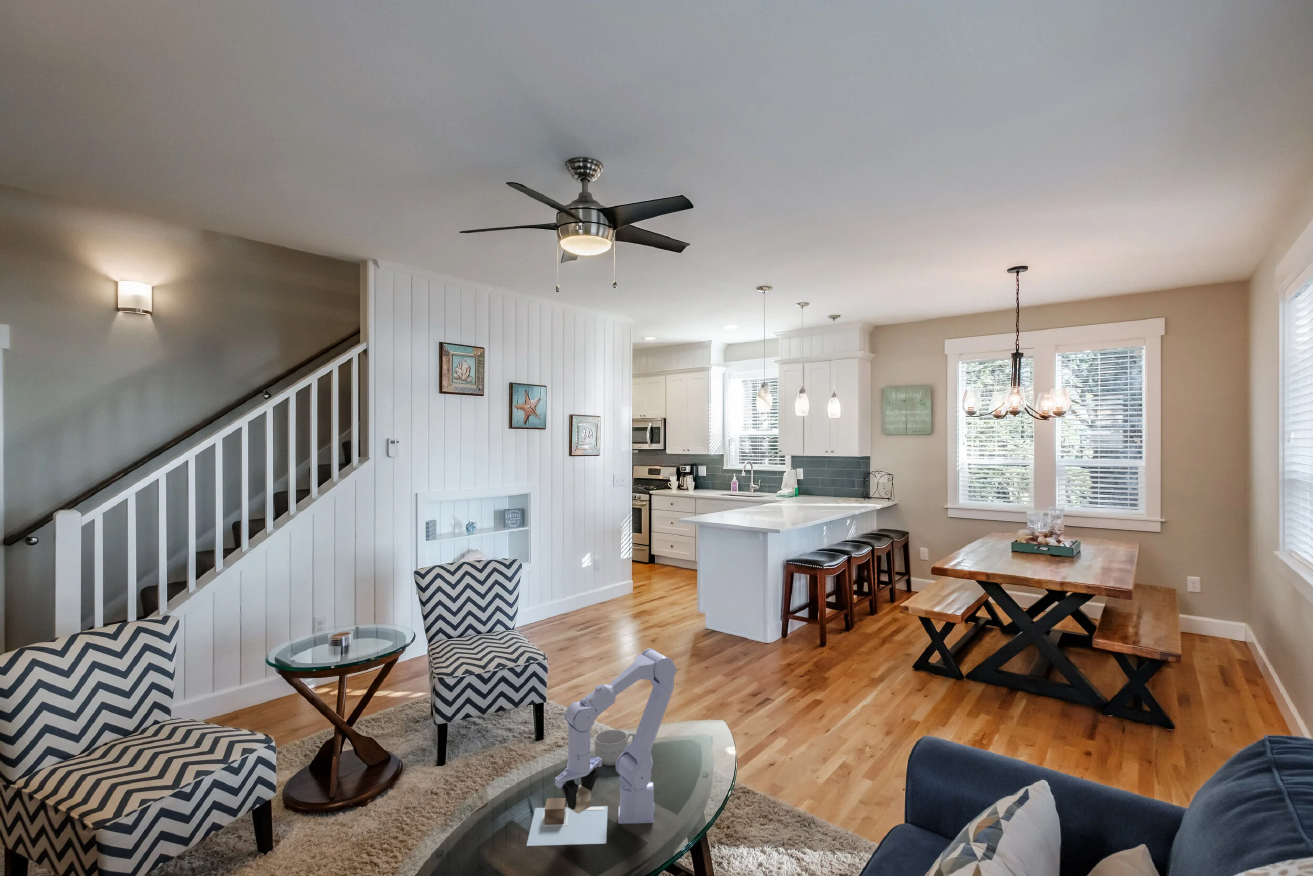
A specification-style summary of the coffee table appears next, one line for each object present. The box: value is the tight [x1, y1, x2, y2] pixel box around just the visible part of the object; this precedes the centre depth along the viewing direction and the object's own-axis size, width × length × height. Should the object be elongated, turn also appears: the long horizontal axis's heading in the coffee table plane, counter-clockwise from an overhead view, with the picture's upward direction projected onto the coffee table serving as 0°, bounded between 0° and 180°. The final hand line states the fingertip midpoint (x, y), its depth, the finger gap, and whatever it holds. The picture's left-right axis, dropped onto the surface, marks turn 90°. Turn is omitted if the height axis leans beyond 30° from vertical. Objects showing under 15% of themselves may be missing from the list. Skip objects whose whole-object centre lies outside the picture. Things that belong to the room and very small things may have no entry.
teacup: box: [593, 729, 636, 767], centre depth 199 cm, size 14×11×8 cm
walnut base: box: [544, 797, 566, 824], centre depth 167 cm, size 5×5×4 cm
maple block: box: [566, 784, 592, 814], centre depth 161 cm, size 4×4×4 cm
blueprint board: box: [525, 805, 609, 847], centre depth 164 cm, size 20×16×1 cm
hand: (578, 803), depth 161 cm, fingers closed on maple block, 4 cm apart
